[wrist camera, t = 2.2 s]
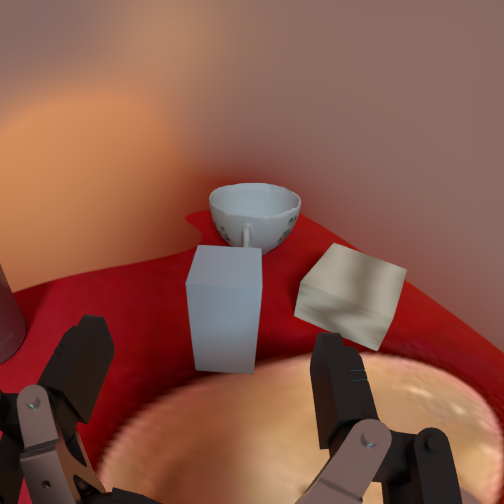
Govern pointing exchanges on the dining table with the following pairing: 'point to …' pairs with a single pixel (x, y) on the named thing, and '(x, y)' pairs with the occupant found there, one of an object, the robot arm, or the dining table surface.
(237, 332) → the pale blue tall cuboid
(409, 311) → the dining table surface
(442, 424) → the dining table surface
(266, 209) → the teacup
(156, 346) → the dining table surface
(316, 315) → the birch block
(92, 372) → the robot arm
